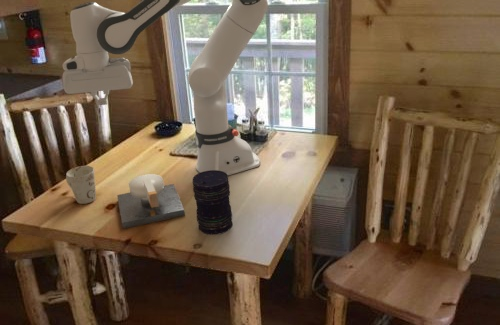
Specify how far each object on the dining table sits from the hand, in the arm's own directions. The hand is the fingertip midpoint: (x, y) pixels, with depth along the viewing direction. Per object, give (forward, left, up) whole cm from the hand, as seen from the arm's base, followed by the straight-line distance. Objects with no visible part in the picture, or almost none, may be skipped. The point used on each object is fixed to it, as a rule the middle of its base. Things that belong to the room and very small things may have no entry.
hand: (102, 104), depth 154 cm
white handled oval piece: (-8, +22, -23) cm, 33 cm away
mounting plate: (-8, +18, -29) cm, 35 cm away
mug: (+12, +2, -29) cm, 32 cm away
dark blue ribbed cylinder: (-24, +36, -29) cm, 52 cm away
